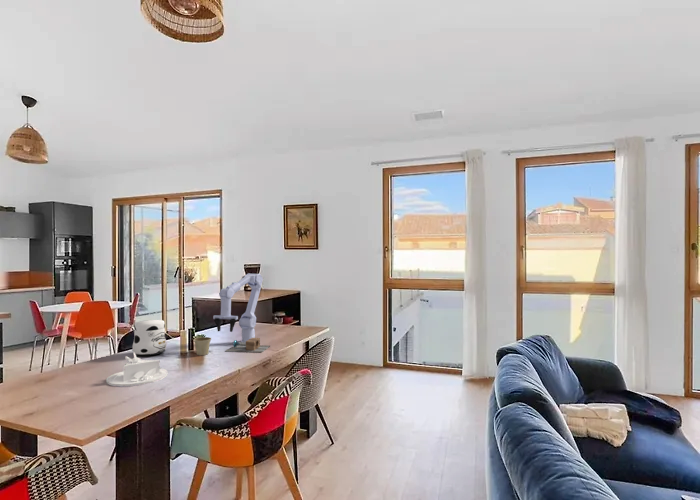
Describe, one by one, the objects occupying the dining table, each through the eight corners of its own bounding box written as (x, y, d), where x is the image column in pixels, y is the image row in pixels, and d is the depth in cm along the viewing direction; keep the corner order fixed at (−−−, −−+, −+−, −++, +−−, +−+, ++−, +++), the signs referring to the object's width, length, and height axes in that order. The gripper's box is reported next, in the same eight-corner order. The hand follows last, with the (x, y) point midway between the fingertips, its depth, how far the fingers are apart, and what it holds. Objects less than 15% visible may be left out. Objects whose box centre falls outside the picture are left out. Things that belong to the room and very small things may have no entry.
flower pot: (207, 356, 225) (207, 340, 225) (190, 356, 225) (190, 340, 225) (213, 352, 234) (213, 337, 234) (197, 352, 234) (197, 337, 235)
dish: (98, 389, 172) (98, 362, 172) (115, 372, 196) (115, 349, 196) (162, 384, 178) (162, 358, 178) (171, 368, 202) (171, 346, 202)
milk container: (165, 356, 226) (165, 323, 226) (130, 359, 219) (130, 325, 219) (167, 349, 242) (167, 318, 242) (134, 351, 235) (134, 320, 235)
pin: (235, 346, 245) (236, 339, 245) (254, 346, 244) (254, 340, 244) (233, 347, 241) (233, 341, 241) (252, 348, 240) (252, 341, 240)
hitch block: (235, 345, 251) (235, 336, 251) (270, 346, 249) (270, 337, 249) (224, 351, 235) (224, 341, 235) (261, 352, 233) (261, 342, 233)
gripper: (211, 308, 240) (210, 331, 240) (234, 309, 239) (234, 332, 238) (216, 307, 247) (215, 330, 247) (239, 308, 246) (238, 331, 245)
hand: (225, 331), depth 243 cm, fingers open, 7 cm apart
